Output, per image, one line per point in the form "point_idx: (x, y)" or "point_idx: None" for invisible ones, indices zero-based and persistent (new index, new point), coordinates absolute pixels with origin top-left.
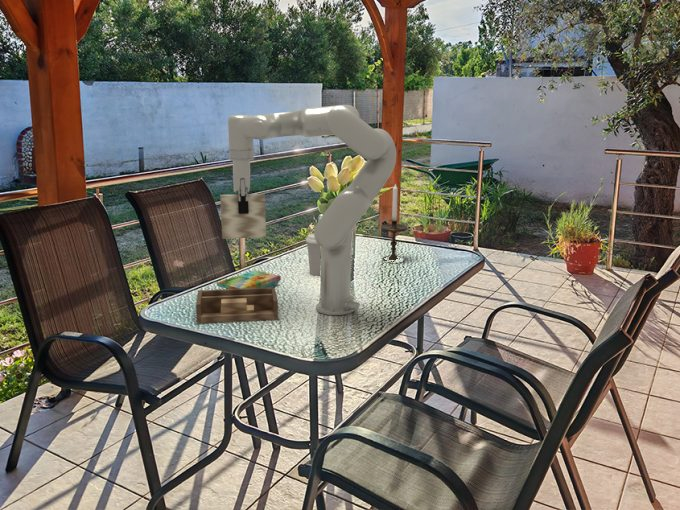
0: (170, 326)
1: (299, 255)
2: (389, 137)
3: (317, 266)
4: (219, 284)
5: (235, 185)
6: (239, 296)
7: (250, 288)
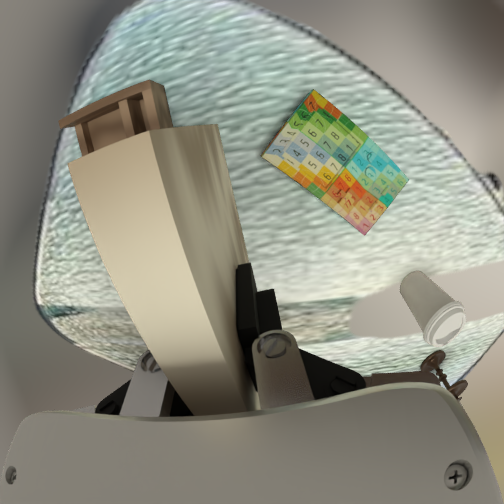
0: (82, 71)
1: (497, 241)
2: None
3: (407, 295)
4: (306, 96)
5: (7, 471)
6: None
7: None
